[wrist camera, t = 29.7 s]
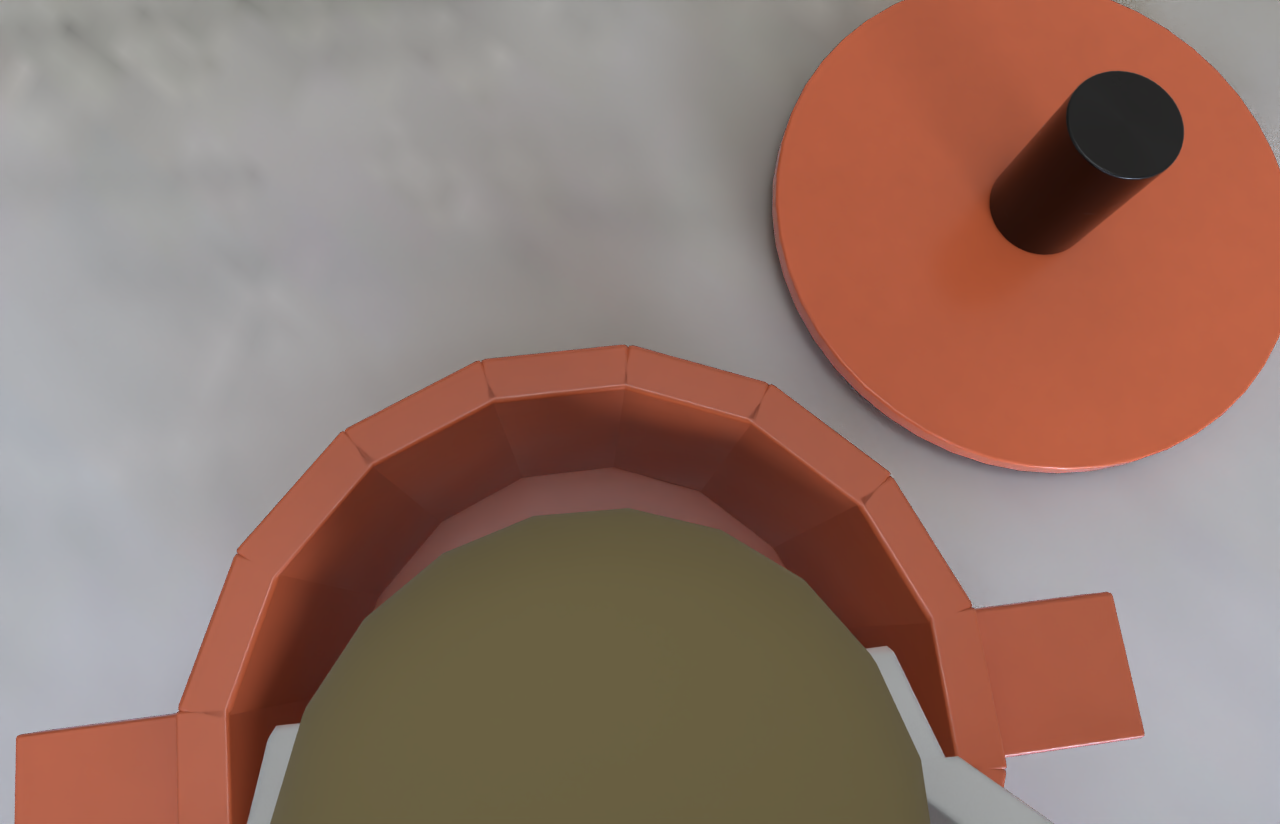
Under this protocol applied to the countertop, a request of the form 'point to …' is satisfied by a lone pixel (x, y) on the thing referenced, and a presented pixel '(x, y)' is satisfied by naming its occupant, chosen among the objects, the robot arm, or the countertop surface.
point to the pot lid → (1031, 229)
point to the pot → (567, 483)
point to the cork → (603, 692)
